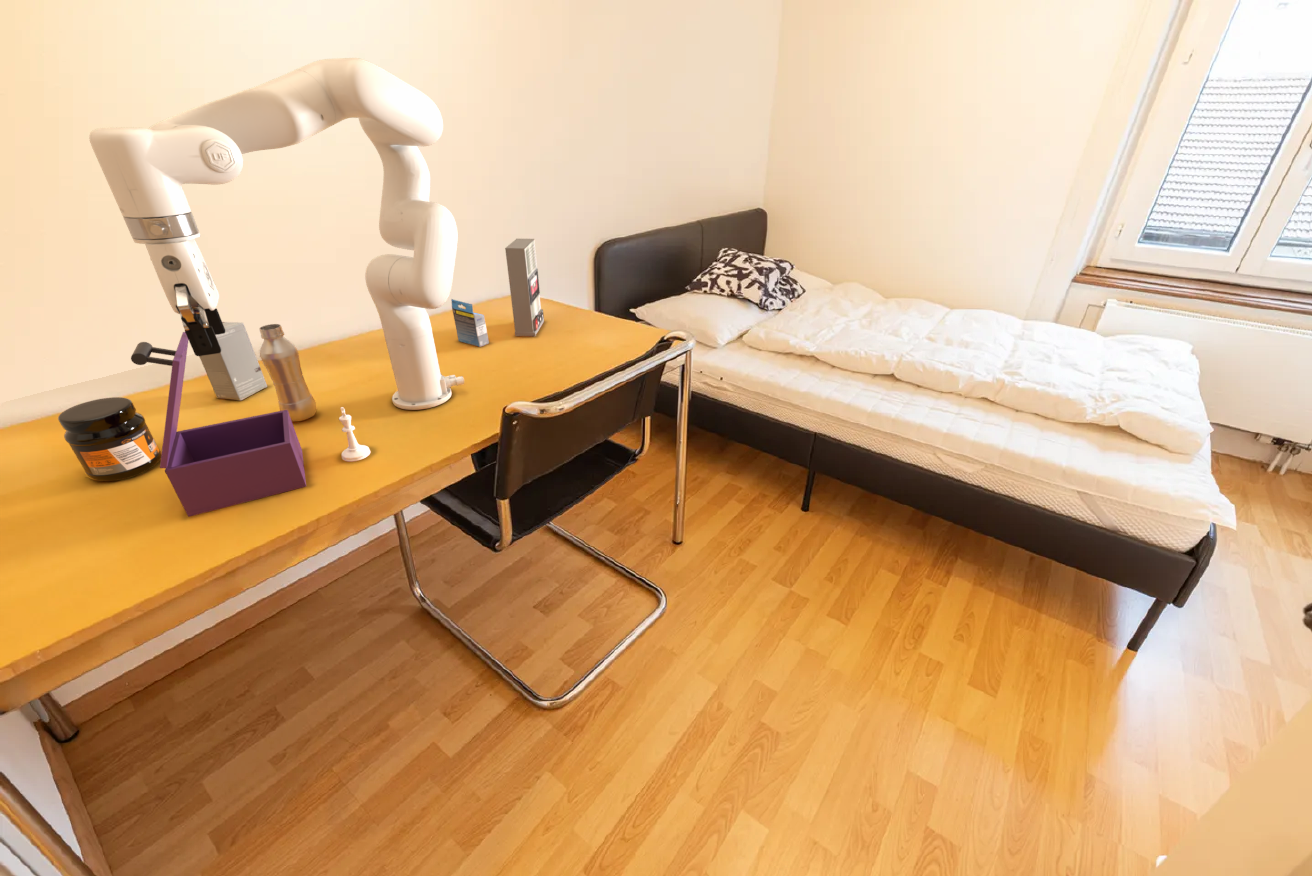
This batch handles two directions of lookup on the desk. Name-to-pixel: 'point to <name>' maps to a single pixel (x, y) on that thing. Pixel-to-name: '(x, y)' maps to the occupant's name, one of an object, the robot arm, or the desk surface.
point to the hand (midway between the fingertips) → (211, 343)
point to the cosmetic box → (234, 365)
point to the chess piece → (352, 441)
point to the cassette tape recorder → (524, 287)
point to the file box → (235, 462)
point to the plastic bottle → (286, 373)
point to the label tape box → (469, 324)
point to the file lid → (175, 390)
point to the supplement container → (110, 439)
